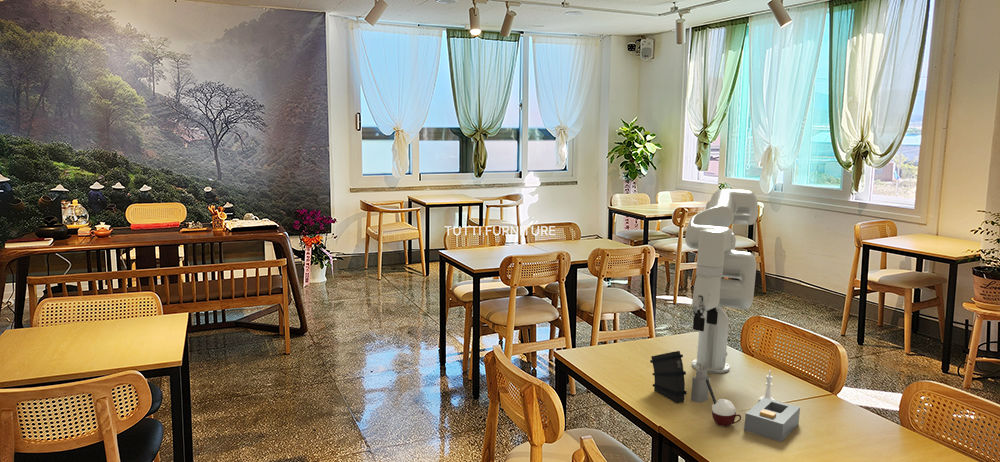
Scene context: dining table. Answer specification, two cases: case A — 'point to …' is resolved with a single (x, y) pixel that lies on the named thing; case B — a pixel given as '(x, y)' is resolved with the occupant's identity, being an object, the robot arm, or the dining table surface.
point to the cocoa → (722, 410)
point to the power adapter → (700, 385)
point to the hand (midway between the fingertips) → (705, 326)
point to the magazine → (669, 376)
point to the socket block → (772, 419)
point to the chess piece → (768, 387)
